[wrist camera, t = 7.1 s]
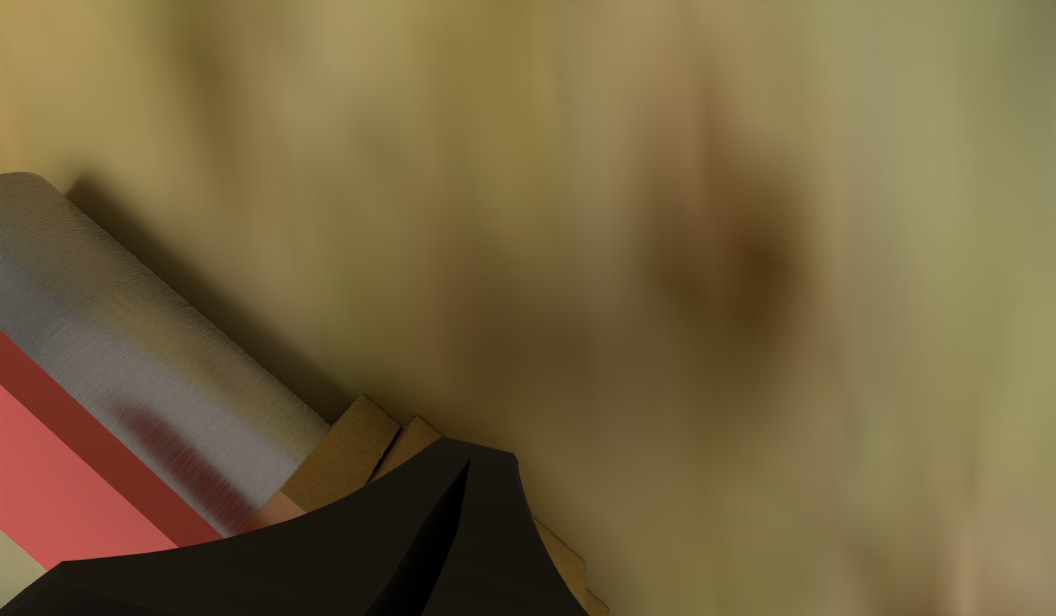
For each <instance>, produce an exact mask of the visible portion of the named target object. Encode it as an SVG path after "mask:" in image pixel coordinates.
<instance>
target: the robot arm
mask: <svg viewBox="0 0 1056 616" xmlns="http://www.w3.org/2000/svg"><path fill="white" fill-rule="evenodd" d="M0 616H590V615H589V614H588V613H587V612H586V611H585V609H584V608H583V607H582V606H581V604H580V603H579V602H578V600H577V599H576V598H575V596H574V595H573V594H572V592H571V591H570V589H569V588H568V586H567V585H566V583H565V581H564V580H563V578H562V577H561V575H560V573H559V572H558V570H557V568H556V566H555V565H554V563H553V561H552V559H551V557H550V555H549V553H548V551H547V549H546V547H545V545H544V543H543V541H542V539H541V537H540V534H539V532H538V530H537V527H536V525H535V522H534V520H533V517H532V514H531V512H530V509H529V506H528V504H527V501H526V498H525V494H524V491H523V487H522V483H521V479H520V475H519V468H518V460H517V458H516V457H515V455H514V453H510V452H506V451H501V450H497V449H493V448H489V447H485V446H481V445H476V444H472V443H468V442H464V441H460V440H455V439H451V438H447V437H443V436H442V437H441V438H439V439H437V440H436V441H434V442H433V443H431V444H430V445H428V446H427V447H425V448H424V449H423V450H421V451H420V452H418V453H417V454H415V455H414V456H412V457H411V458H409V459H408V460H407V461H405V462H404V463H402V464H401V465H399V466H397V467H396V468H394V469H393V470H391V471H389V472H388V473H386V474H385V475H383V476H381V477H380V478H378V479H377V480H375V481H373V482H371V483H370V484H368V485H366V486H364V487H362V488H360V489H359V490H357V491H355V492H353V493H351V494H349V495H347V496H345V497H343V498H341V499H339V500H337V501H335V502H333V503H330V504H328V505H326V506H324V507H321V508H319V509H316V510H314V511H311V512H308V513H306V514H303V515H301V516H298V517H296V518H293V519H290V520H287V521H284V522H280V523H277V524H274V525H270V526H267V527H263V528H260V529H257V530H253V531H250V532H246V533H243V534H240V535H236V536H232V537H228V538H224V539H219V540H215V541H210V542H206V543H201V544H196V545H190V546H185V547H179V548H174V549H168V550H162V551H155V552H148V553H140V554H130V555H121V556H111V557H102V558H92V559H83V560H69V561H61V562H60V563H59V564H57V565H56V566H55V567H53V568H52V569H50V570H49V571H48V572H46V573H45V574H44V575H42V576H41V577H40V578H38V579H37V580H36V581H35V582H33V583H32V584H31V585H29V586H28V587H27V588H25V589H24V590H23V591H21V592H20V593H19V594H18V595H17V596H15V597H14V598H13V599H12V600H11V601H9V602H8V603H7V604H6V605H5V606H3V607H2V608H1V609H0Z"/></svg>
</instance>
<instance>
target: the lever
mask: <svg viewBox="0 0 1056 616" xmlns="http://www.w3.org/2000/svg"><path fill="white" fill-rule="evenodd" d="M0 529H1V530H2V531H3V532H4V533H5V534H6V535H7V536H9V537H10V538H11V539H12V540H13V541H14V542H15V543H17V544H18V545H19V546H20V547H21V548H22V549H23V550H25V551H26V552H27V553H28V554H29V555H30V556H31V557H32V558H34V559H35V560H36V561H37V562H38V563H39V564H40V565H42V566H43V567H44V568H45V569H46V570H47V571H49V570H50V569H52V568H53V567H55V566H56V565H57V564H59V563H60V562H61V561H69V560H83V559H92V558H102V557H111V556H121V555H130V554H140V553H148V552H155V551H162V550H168V549H174V548H179V547H185V546H190V545H196V544H201V543H206V542H210V541H215V540H219V539H224V537H223V536H222V535H221V534H220V533H219V532H218V531H216V530H215V529H214V528H213V527H212V526H211V525H210V524H209V523H208V522H207V521H206V520H205V519H204V518H202V517H201V516H200V515H199V514H198V513H197V512H196V511H195V510H194V509H193V508H192V507H191V506H190V505H188V504H187V503H186V502H185V501H184V500H183V499H182V498H181V497H180V496H179V495H178V494H177V493H175V492H174V491H173V490H172V489H171V488H170V487H169V486H168V485H167V484H166V483H165V482H164V481H163V480H161V479H160V478H159V477H158V476H157V475H156V474H155V473H154V472H153V471H152V470H151V469H150V468H149V467H147V466H146V465H145V464H144V463H143V462H142V461H141V460H140V459H139V458H138V457H137V456H136V455H135V454H133V453H132V452H131V451H130V450H129V449H128V448H127V447H126V446H125V445H124V444H123V443H122V442H120V441H119V440H118V439H117V438H116V437H115V436H114V435H113V434H112V433H111V432H110V431H109V430H108V429H106V428H105V427H104V426H103V425H102V424H101V423H100V422H99V421H98V420H97V419H96V418H95V417H94V416H92V415H91V414H90V413H89V412H88V411H87V410H86V409H85V408H84V407H83V406H82V405H81V404H79V403H78V402H77V401H76V400H75V399H74V398H73V397H72V396H71V395H70V394H69V393H68V392H67V391H65V390H64V389H63V388H62V387H61V386H60V385H59V384H58V383H57V382H56V381H55V380H54V379H53V378H51V377H50V376H49V375H48V374H47V373H46V372H45V371H44V370H43V369H42V368H41V367H40V366H39V365H37V364H36V363H35V362H34V361H33V360H32V359H31V358H30V357H29V356H28V355H27V354H26V353H24V352H23V351H22V350H21V349H20V348H19V347H18V346H17V345H16V344H15V343H14V342H13V341H12V340H10V339H9V338H8V337H7V336H6V335H5V334H4V333H3V332H2V331H1V330H0Z"/></svg>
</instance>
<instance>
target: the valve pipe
mask: <svg viewBox="0 0 1056 616" xmlns="http://www.w3.org/2000/svg"><path fill="white" fill-rule="evenodd" d="M0 330H1V331H2V332H3V333H4V334H5V335H6V336H7V337H8V338H9V339H10V340H12V341H13V342H14V343H15V344H16V345H17V346H18V347H19V348H20V349H21V350H22V351H23V352H24V353H26V354H27V355H28V356H29V357H30V358H31V359H32V360H33V361H34V362H35V363H36V364H37V365H39V366H40V367H41V368H42V369H43V370H44V371H45V372H46V373H47V374H48V375H49V376H50V377H51V378H53V379H54V380H55V381H56V382H57V383H58V384H59V385H60V386H61V387H62V388H63V389H64V390H65V391H67V392H68V393H69V394H70V395H71V396H72V397H73V398H74V399H75V400H76V401H77V402H78V403H79V404H81V405H82V406H83V407H84V408H85V409H86V410H87V411H88V412H89V413H90V414H91V415H92V416H94V417H95V418H96V419H97V420H98V421H99V422H100V423H101V424H102V425H103V426H104V427H105V428H106V429H108V430H109V431H110V432H111V433H112V434H113V435H114V436H115V437H116V438H117V439H118V440H119V441H120V442H122V443H123V444H124V445H125V446H126V447H127V448H128V449H129V450H130V451H131V452H132V453H133V454H135V455H136V456H137V457H138V458H139V459H140V460H141V461H142V462H143V463H144V464H145V465H146V466H147V467H149V468H150V469H151V470H152V471H153V472H154V473H155V474H156V475H157V476H158V477H159V478H160V479H161V480H163V481H164V482H165V483H166V484H167V485H168V486H169V487H170V488H171V489H172V490H173V491H174V492H175V493H177V494H178V495H179V496H180V497H181V498H182V499H183V500H184V501H185V502H186V503H187V504H188V505H190V506H191V507H192V508H193V509H194V510H195V511H196V512H197V513H198V514H199V515H200V516H201V517H202V518H204V519H205V520H206V521H207V522H208V523H209V524H210V525H211V526H212V527H213V528H214V529H215V530H216V531H218V532H219V533H220V534H221V535H222V536H223V537H224V538H228V537H232V536H236V535H240V534H243V533H246V532H250V531H253V530H257V529H260V528H263V527H267V526H270V525H274V524H277V523H280V522H284V521H287V520H290V519H293V518H296V517H298V516H301V515H303V514H306V513H308V512H311V511H314V510H316V509H319V508H321V507H324V506H326V505H328V504H330V503H333V502H335V501H337V500H339V499H341V498H343V497H345V496H347V495H349V494H351V493H353V492H355V491H357V490H359V489H360V488H362V487H364V486H366V485H368V484H370V483H371V482H373V481H375V480H377V479H378V478H380V477H381V476H383V475H385V474H386V473H388V472H389V471H391V470H393V469H394V468H396V467H397V466H399V465H401V464H402V463H404V462H405V461H407V460H408V459H409V458H411V457H412V456H414V455H415V454H417V453H418V452H420V451H421V450H423V449H424V448H425V447H427V446H428V445H430V444H431V443H433V442H434V441H436V440H437V439H439V438H441V437H442V436H441V435H439V434H438V433H437V432H436V431H435V430H434V429H433V428H432V427H430V426H429V425H428V424H427V423H426V422H425V421H424V420H422V419H421V418H420V417H419V416H418V415H417V416H416V417H415V418H414V419H413V420H412V421H411V422H410V423H409V424H408V425H407V426H406V427H405V428H404V429H403V430H402V431H401V432H400V433H399V434H398V435H397V436H396V437H395V438H394V436H395V435H396V433H397V432H398V430H399V428H400V426H399V425H398V424H397V423H396V422H395V421H393V420H392V419H391V418H390V417H389V416H388V415H387V414H385V413H384V412H383V411H382V410H381V409H380V408H379V407H377V406H376V405H375V404H374V403H373V402H372V401H371V400H369V399H368V398H367V397H366V396H365V395H364V394H363V393H362V394H361V395H360V396H359V397H358V398H357V399H356V400H355V401H354V402H353V403H352V404H351V405H350V406H349V408H348V409H347V410H346V411H345V412H344V413H343V414H342V415H341V416H340V417H339V418H338V419H337V420H336V421H335V423H334V424H333V425H332V426H331V425H330V424H328V423H327V422H326V421H325V420H324V419H323V418H322V417H320V416H319V415H318V414H317V413H316V412H315V411H313V410H312V409H311V408H310V407H309V406H308V405H306V404H305V403H304V402H303V401H302V400H301V399H299V398H298V397H297V396H296V395H295V394H294V393H293V392H291V391H290V390H289V389H288V388H287V387H286V386H284V385H283V384H282V383H281V382H280V381H279V380H277V379H276V378H275V377H274V376H273V375H272V374H270V373H269V372H268V371H267V370H266V369H265V368H264V367H262V366H261V365H260V364H259V363H258V362H257V361H255V360H254V359H253V358H252V357H251V356H250V355H248V354H247V353H246V352H245V351H244V350H243V349H241V348H240V347H239V346H238V345H237V344H236V343H235V342H233V341H232V340H231V339H230V338H229V337H228V336H226V335H225V334H224V333H223V332H222V331H221V330H219V329H218V328H217V327H216V326H215V325H214V324H212V323H211V322H210V321H209V320H208V319H207V318H206V317H204V316H203V315H202V314H201V313H200V312H199V311H197V310H196V309H195V308H194V307H193V306H192V305H190V304H189V303H188V302H187V301H186V300H185V299H183V298H182V297H181V296H180V295H179V294H178V293H177V292H175V291H174V290H173V289H172V288H171V287H170V286H168V285H167V284H166V283H165V282H164V281H163V280H161V279H160V278H159V277H158V276H157V275H156V274H154V273H153V272H152V271H151V270H150V269H149V268H148V267H146V266H145V265H144V264H143V263H142V262H141V261H139V260H138V259H137V258H136V257H135V256H134V255H132V254H131V253H130V252H129V251H128V250H127V249H125V248H124V247H123V246H122V245H121V244H120V243H119V242H117V241H116V240H115V239H114V238H113V237H112V236H110V235H109V234H108V233H107V232H106V231H105V230H103V229H102V228H101V227H100V226H99V225H98V224H96V223H95V222H94V221H93V220H92V219H91V218H90V217H88V216H87V215H86V214H85V213H84V212H83V211H81V210H80V209H79V208H78V207H77V206H76V205H74V204H73V203H72V202H71V201H70V200H69V199H67V198H66V197H65V196H64V195H63V194H62V193H60V192H59V191H58V190H57V189H56V188H55V187H54V186H52V185H51V184H50V183H49V182H48V181H47V180H45V179H44V178H43V177H41V176H39V175H37V174H33V173H28V172H12V173H5V174H0ZM393 438H394V439H393ZM392 439H393V440H392ZM532 517H533V516H532ZM533 520H534V522H535V525H536V527H537V530H538V532H539V534H540V537H541V539H542V541H543V543H544V545H545V547H546V549H547V551H548V553H549V555H550V557H551V559H552V561H553V563H554V565H555V566H556V568H557V570H558V572H559V573H560V575H561V577H562V578H563V580H564V581H565V583H566V585H567V586H568V588H569V589H570V591H571V592H572V594H573V595H574V596H575V598H576V599H577V600H578V602H579V603H580V604H581V606H582V607H583V608H584V609H585V611H586V612H587V613H588V614H589V615H590V616H609V609H608V608H607V607H606V606H605V605H604V604H603V603H602V602H600V601H599V600H598V599H597V598H596V597H595V596H594V595H592V594H591V593H590V592H589V591H588V590H587V589H586V588H585V576H586V563H585V562H584V561H583V560H581V559H580V558H579V557H578V556H577V555H576V554H575V553H574V552H572V551H571V550H570V549H569V548H568V547H567V546H566V545H564V544H563V543H562V542H561V541H560V540H559V539H558V538H556V537H555V536H554V535H553V534H552V533H551V532H550V531H549V530H547V529H546V528H545V527H544V526H543V525H542V524H541V523H539V522H538V521H537V520H536V519H535V518H534V517H533Z"/></svg>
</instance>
